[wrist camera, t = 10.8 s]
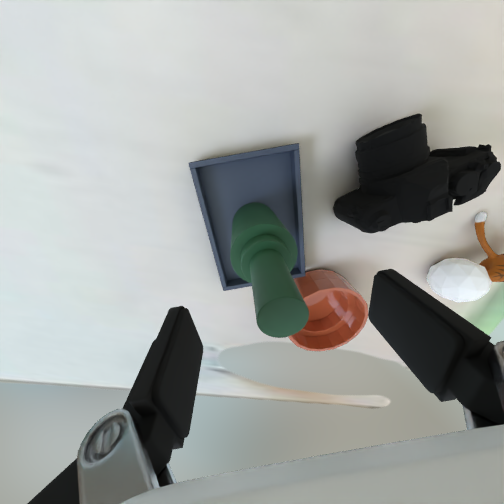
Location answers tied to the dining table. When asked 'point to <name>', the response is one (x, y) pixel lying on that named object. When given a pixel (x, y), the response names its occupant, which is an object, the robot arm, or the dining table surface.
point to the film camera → (412, 177)
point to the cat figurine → (467, 272)
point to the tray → (249, 199)
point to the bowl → (329, 311)
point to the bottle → (268, 269)
